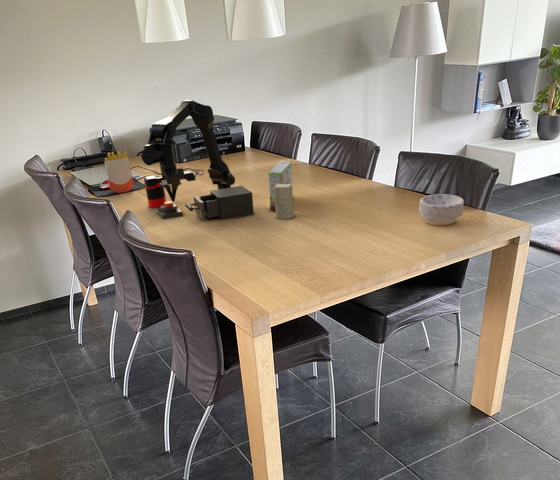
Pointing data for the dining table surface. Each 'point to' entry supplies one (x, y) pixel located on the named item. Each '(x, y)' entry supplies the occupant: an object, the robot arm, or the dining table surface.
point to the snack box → (279, 178)
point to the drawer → (205, 206)
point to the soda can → (155, 195)
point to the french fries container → (119, 172)
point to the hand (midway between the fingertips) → (173, 201)
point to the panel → (169, 211)
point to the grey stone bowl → (441, 208)
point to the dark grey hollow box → (234, 202)
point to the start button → (168, 204)
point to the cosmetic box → (284, 201)
